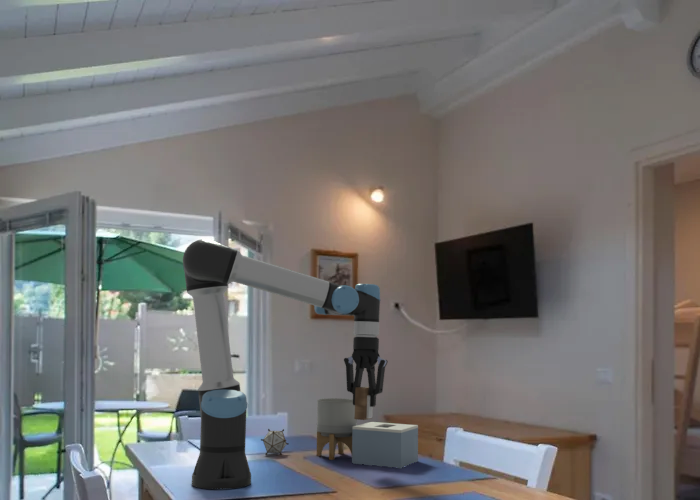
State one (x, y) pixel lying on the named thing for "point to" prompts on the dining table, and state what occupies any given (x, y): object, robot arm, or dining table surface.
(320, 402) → the planter
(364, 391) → the block
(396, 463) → the coin box
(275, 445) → the game die
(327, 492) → the dining table surface
